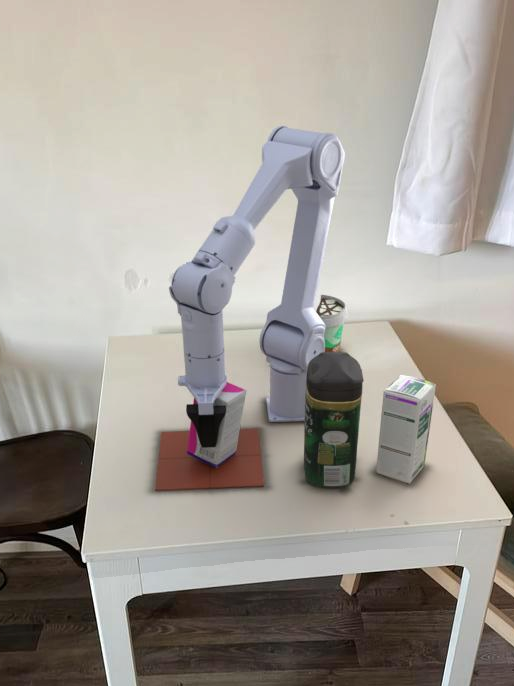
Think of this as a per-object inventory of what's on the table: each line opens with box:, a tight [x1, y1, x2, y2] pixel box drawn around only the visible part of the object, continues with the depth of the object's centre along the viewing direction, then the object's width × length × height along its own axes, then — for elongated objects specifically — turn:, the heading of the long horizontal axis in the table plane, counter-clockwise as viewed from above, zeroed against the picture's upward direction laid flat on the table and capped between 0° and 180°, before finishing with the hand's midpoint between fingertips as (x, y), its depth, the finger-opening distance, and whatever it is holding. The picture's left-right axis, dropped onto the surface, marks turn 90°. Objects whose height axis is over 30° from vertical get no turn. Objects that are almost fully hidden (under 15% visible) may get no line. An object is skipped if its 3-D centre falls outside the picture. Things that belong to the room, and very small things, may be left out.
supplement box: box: [187, 381, 247, 468], centre depth 105 cm, size 6×6×12 cm
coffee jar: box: [303, 351, 364, 489], centre depth 100 cm, size 10×8×19 cm
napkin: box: [155, 428, 265, 492], centre depth 108 cm, size 16×16×1 cm
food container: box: [315, 294, 349, 352], centre depth 136 cm, size 12×6×10 cm, turn 168°
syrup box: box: [375, 374, 436, 485], centre depth 102 cm, size 6×6×14 cm
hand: (208, 432), depth 106 cm, fingers closed on supplement box, 7 cm apart
